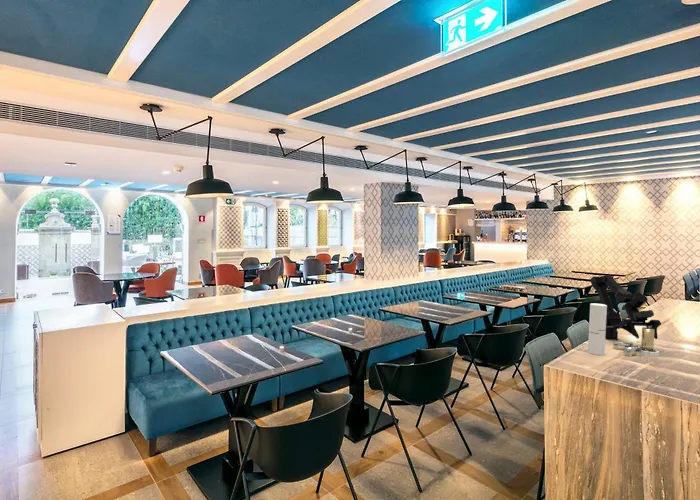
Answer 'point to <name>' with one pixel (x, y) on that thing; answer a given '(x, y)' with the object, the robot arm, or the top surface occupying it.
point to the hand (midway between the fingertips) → (647, 338)
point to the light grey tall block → (597, 329)
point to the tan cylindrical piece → (647, 339)
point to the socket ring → (650, 353)
